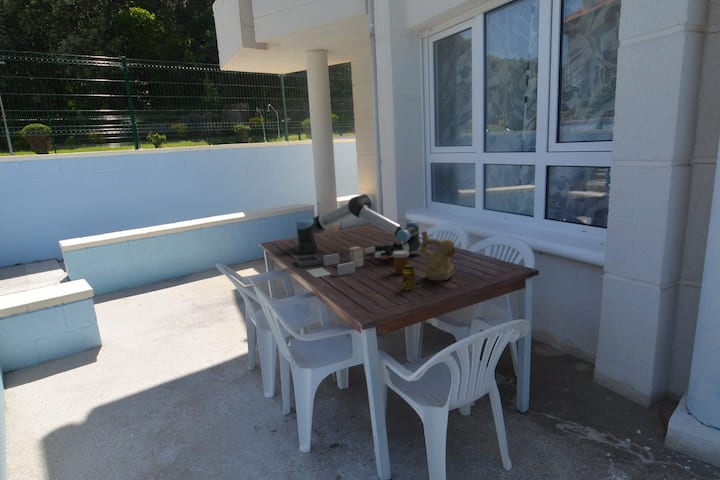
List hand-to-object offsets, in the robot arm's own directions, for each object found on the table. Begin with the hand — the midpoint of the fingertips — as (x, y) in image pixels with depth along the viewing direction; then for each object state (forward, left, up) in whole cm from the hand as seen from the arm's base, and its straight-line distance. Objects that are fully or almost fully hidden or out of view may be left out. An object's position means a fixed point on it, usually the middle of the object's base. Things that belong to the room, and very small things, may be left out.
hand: (370, 252), depth 264 cm
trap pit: (-22, -33, -6) cm, 41 cm away
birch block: (0, -9, -6) cm, 11 cm away
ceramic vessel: (+47, +18, -7) cm, 51 cm away
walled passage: (0, -21, -6) cm, 22 cm away
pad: (0, -34, -6) cm, 35 cm away
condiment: (+53, -3, -7) cm, 53 cm away
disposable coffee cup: (+28, +6, -7) cm, 29 cm away
